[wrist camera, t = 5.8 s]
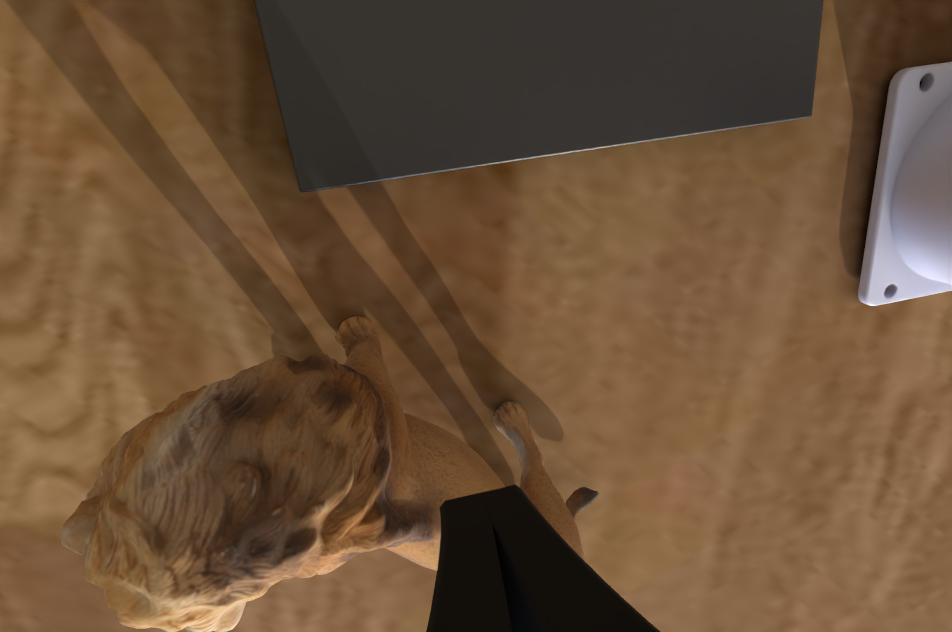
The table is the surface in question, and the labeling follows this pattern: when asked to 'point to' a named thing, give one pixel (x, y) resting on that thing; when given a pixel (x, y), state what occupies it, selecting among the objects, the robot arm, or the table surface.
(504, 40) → the scale
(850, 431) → the table surface
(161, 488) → the lion figurine
